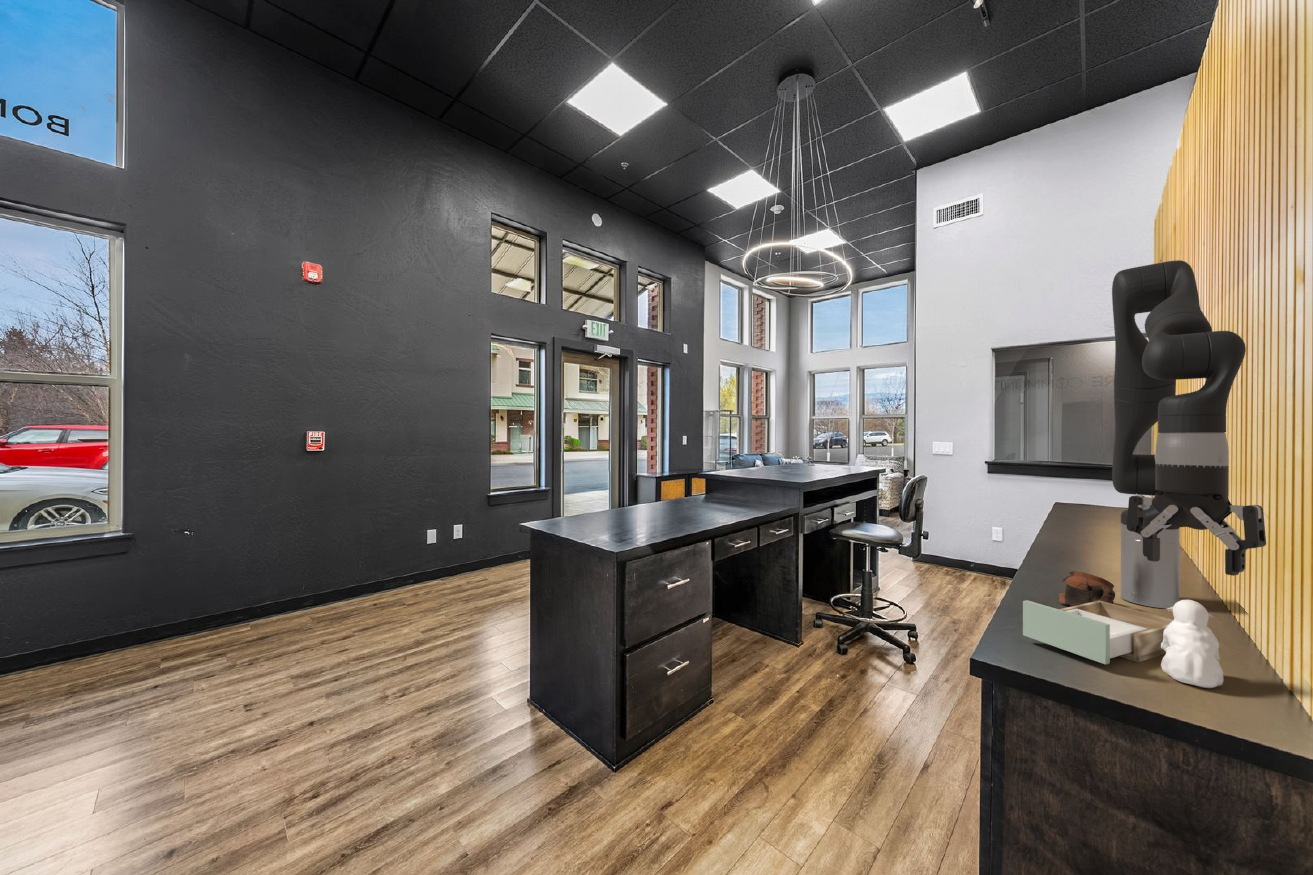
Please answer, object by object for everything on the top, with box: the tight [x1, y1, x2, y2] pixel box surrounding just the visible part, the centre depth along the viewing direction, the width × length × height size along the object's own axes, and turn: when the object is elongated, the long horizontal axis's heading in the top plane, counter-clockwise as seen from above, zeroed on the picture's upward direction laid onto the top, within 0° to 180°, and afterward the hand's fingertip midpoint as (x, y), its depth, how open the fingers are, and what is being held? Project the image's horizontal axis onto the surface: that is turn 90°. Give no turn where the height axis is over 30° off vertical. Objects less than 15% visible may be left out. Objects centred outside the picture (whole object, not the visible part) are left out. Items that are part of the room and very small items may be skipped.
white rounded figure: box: [1160, 599, 1224, 689], centre depth 73 cm, size 6×8×12 cm
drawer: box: [1022, 599, 1147, 665], centre depth 83 cm, size 14×12×6 cm
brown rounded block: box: [1058, 570, 1116, 607], centre depth 103 cm, size 12×9×8 cm
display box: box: [1058, 601, 1174, 664], centre depth 87 cm, size 15×12×4 cm
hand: (1190, 567), depth 73 cm, fingers open, 8 cm apart
